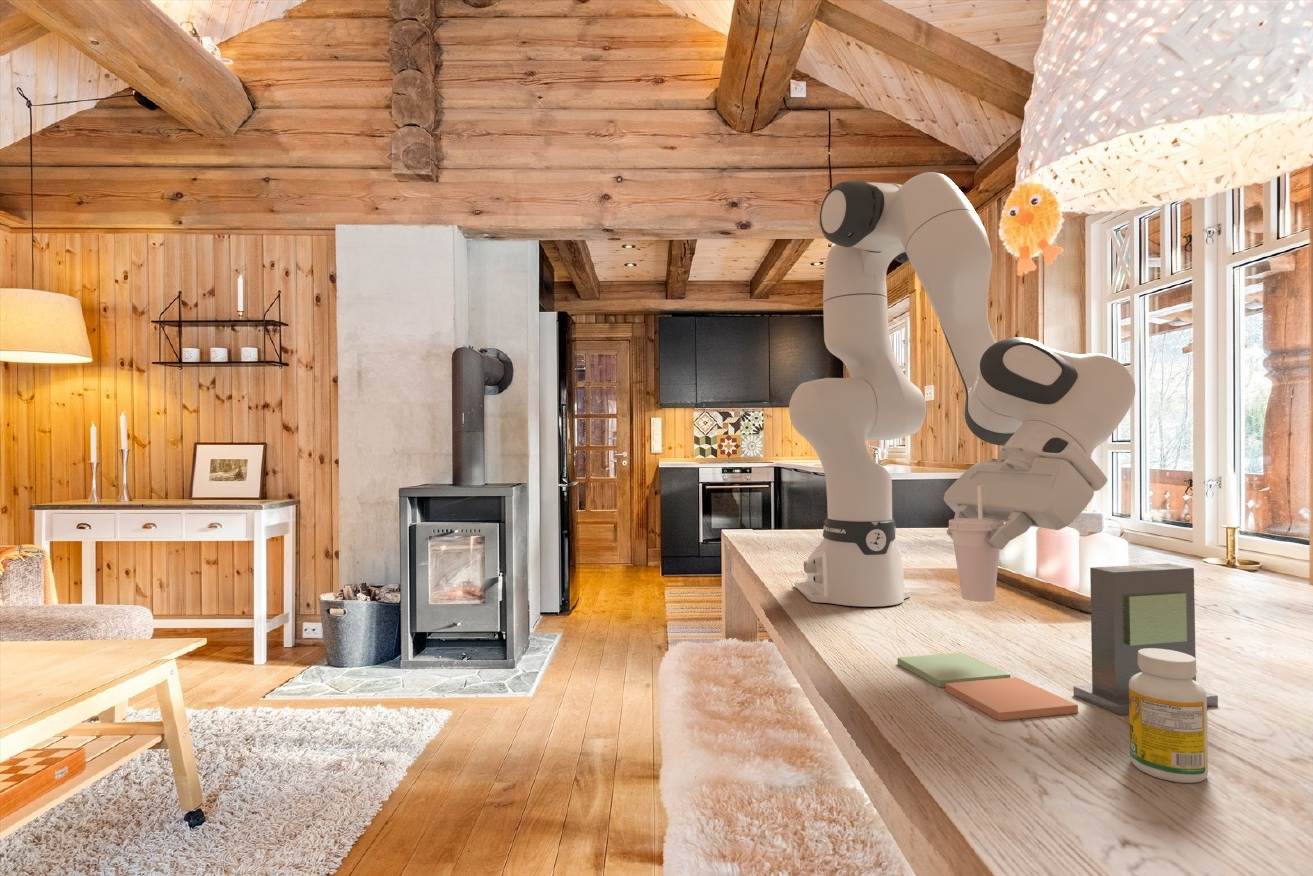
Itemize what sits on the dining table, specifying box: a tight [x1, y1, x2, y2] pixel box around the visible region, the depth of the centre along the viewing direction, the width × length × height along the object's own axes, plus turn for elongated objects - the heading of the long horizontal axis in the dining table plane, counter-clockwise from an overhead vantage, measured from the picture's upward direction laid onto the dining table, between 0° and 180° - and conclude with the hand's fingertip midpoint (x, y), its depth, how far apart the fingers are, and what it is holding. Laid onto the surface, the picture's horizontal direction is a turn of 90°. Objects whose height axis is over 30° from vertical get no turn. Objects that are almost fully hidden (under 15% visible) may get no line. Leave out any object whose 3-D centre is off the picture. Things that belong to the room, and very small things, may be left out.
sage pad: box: [897, 652, 1011, 688], centre depth 86 cm, size 9×9×1 cm
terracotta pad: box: [944, 676, 1079, 721], centre depth 76 cm, size 9×9×1 cm
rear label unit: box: [1073, 563, 1219, 716], centre depth 76 cm, size 6×12×14 cm, turn 102°
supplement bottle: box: [1128, 648, 1209, 784], centre depth 60 cm, size 5×5×10 cm
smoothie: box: [947, 485, 1005, 603], centre depth 89 cm, size 6×6×14 cm
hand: (971, 541), depth 89 cm, fingers closed on smoothie, 6 cm apart
